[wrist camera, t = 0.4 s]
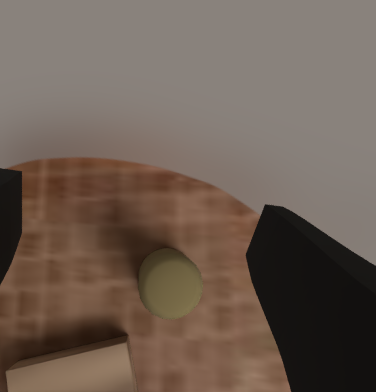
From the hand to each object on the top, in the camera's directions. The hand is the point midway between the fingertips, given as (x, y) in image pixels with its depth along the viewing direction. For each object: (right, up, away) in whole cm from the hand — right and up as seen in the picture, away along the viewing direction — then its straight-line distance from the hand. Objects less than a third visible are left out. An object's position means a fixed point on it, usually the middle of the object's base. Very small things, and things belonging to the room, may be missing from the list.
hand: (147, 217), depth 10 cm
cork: (-1, -8, +27) cm, 28 cm away
